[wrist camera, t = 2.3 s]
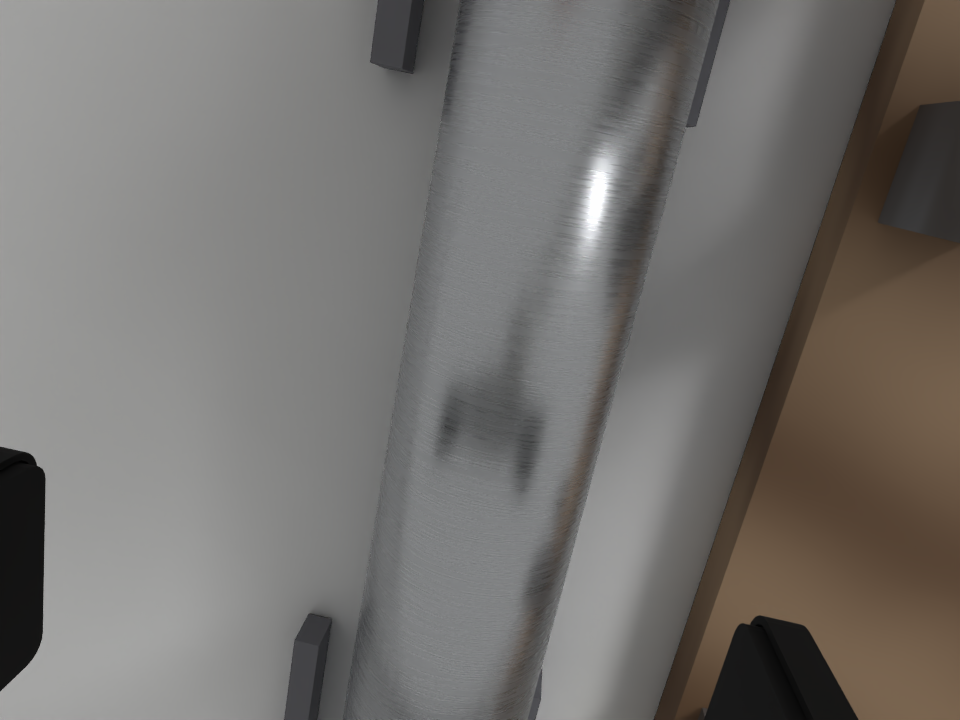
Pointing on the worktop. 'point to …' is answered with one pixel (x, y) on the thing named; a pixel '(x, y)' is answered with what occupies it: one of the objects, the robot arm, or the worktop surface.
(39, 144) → the worktop surface
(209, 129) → the worktop surface
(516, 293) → the tube
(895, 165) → the brown board
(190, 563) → the worktop surface
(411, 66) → the set of grey slats
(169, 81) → the worktop surface
